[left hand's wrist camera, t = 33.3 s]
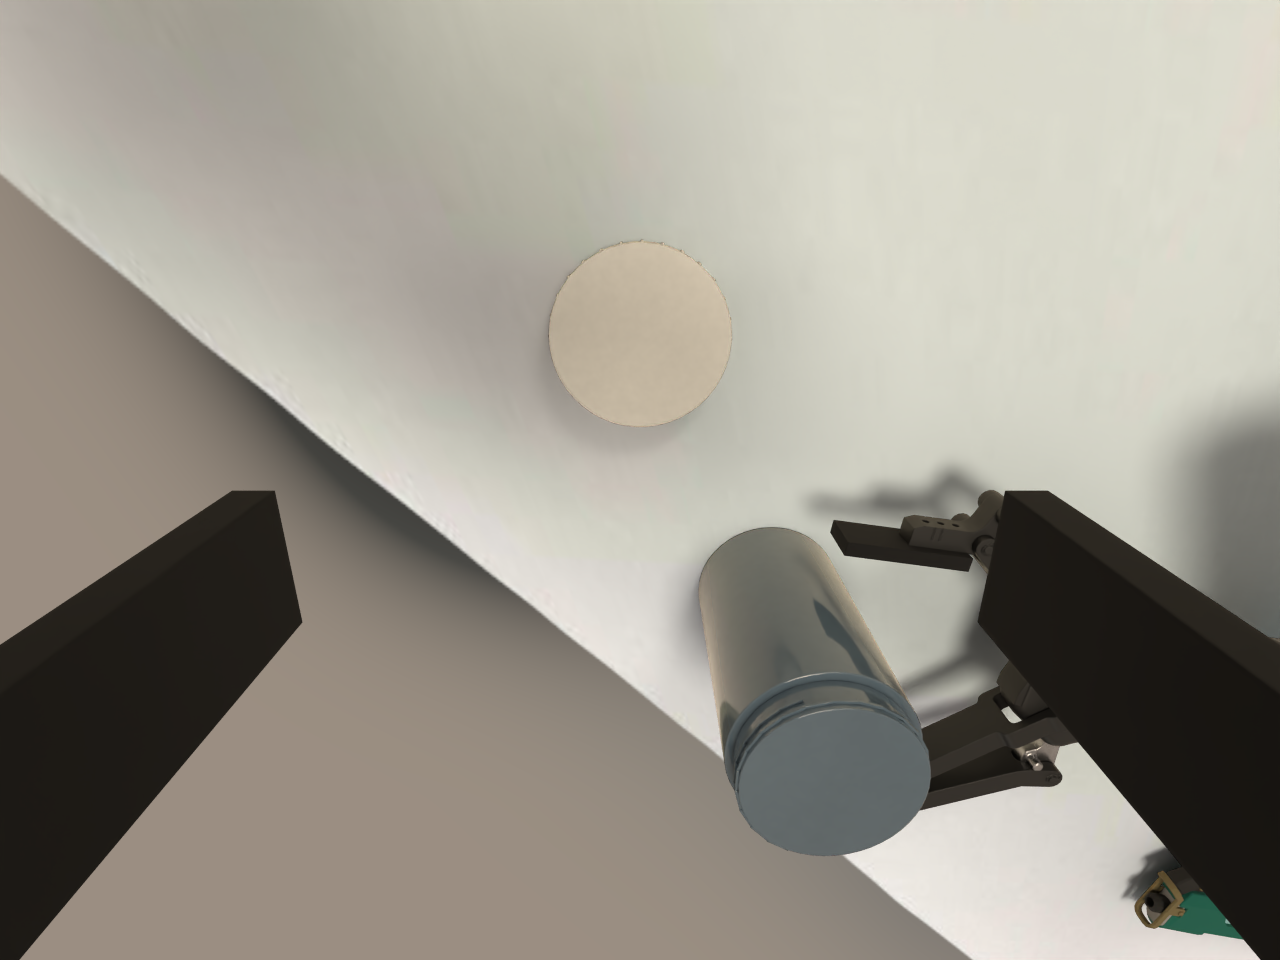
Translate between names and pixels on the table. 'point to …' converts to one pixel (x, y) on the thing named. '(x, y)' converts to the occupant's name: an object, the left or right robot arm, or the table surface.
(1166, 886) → the spray gun
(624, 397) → the lid
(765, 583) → the jar
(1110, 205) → the table surface
